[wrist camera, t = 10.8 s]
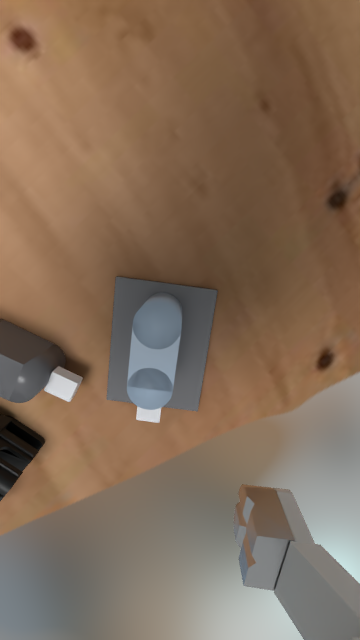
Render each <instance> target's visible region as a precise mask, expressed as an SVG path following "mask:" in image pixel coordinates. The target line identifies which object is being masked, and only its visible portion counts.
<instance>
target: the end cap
mask: <svg viewBox="0 0 360 640" xmlns="http://www.w3.org/2000/svg"><path fill="white" fill-rule="evenodd" d="M44 442H45V441H44V438H43V437H41V436H40V435H38V434H37V433H36V432H34V431H33V430H31V429H30V428H28V427H27V426H25V425H24V424H22V423H21V422H19V421H18V420H16V419H14V418H12V417H9V416H4V415H2V414H0V501H1V500H2V498H3V497H4V496H5V495H6V494H7V492H8V491H9V490H10V489H11V487H12V486H13V485H14V483H15V482H16V481H17V479H18V478H19V477H20V475H21V474H22V473H23V472H22V471H23V470H24V469H25V467H26V466H27V465H28V464H29V463H30V462H31V461H32V459H33V458H34V457H35V455H36V454H37V453H38V451H39V450H40V448H41V447H42V446H43V444H44Z"/></svg>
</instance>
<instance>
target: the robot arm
mask: <svg viewBox="0 0 360 640" xmlns="http://www.w3.org/2000/svg"><path fill="white" fill-rule="evenodd" d="M239 499H240V502H239V503H238V504H237V505H236V506H235V512H234V534H235V540H236V542H237V544H238V545H239V547H240V548H241V551H240V555H239V563H240V569H241V574H242V580H243V585H244V586H247V587H254V588H260V589H267V590H274V593H275V595H276V596H277V598H278V600H279V601H280V603H281V604H282V606H283V607H284V609H285V611H286V612H287V614H288V615H289V617H290V618H291V620H292V621H293V623H294V625H295V626H296V628H297V629H298V631H299V632H300V634H301V636H302V637H303V639H304V640H360V584H359V583H358V582H357V581H356V580H355V579H354V578H353V577H352V576H351V575H350V574H349V573H348V572H347V571H346V570H345V569H344V568H343V567H342V566H341V565H340V564H339V563H338V562H337V561H336V560H335V559H334V558H333V557H332V556H331V555H330V554H329V553H328V552H327V551H326V550H325V549H324V548H323V547H322V546H321V545H318V544H315V543H314V540H313V538H312V536H311V534H310V532H309V529H308V527H307V525H306V523H305V520H304V518H303V516H302V514H301V512H300V509H299V507H298V505H297V503H296V500H295V498H294V496H293V494H292V492H291V491H290V490H288V489H279V488H270V487H261V486H253V485H244V484H242V485H241V487H240V490H239Z"/></svg>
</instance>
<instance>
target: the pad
mask: <svg viewBox="0 0 360 640" xmlns="http://www.w3.org/2000/svg"><path fill="white" fill-rule="evenodd" d="M217 292H218V291H217V290H214V289H207V288H199V287H192V286H185V285H177V284H170V283H162V282H155V281H148V280H140V279H133V278H125V277H118V276H117V277H116V281H115V294H114V308H113V321H112V334H111V348H110V361H109V375H108V388H107V400H114V401H122V402H129V403H133V402H132V401H131V400H130V398H129V396H128V393H127V380H128V369H129V359H130V348H131V337H132V327H133V319H134V316H135V314H136V313H137V311H138V310H139V309H140V308H141V307H142V305H143V304H144V303H145V302H146V301H147V300H148V299H149V298H150V297H151V296H152V295H154V294H157V293H168V294H171V295H173V296H174V297H176V298H177V299H178V301H179V302H180V304H181V307H182V328H181V336H180V343H179V350H178V357H177V364H176V372H175V379H174V386H173V393H172V396H171V399H170V400H169V402H168V403H167V404H166V405H164V406H163V407H168V408H176V409H183V410H191V411H198V406H199V400H200V394H201V388H202V382H203V376H204V370H205V364H206V358H207V352H208V346H209V340H210V334H211V328H212V322H213V316H214V310H215V304H216V298H217Z"/></svg>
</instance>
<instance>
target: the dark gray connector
mask: <svg viewBox="0 0 360 640" xmlns="http://www.w3.org/2000/svg"><path fill="white" fill-rule="evenodd" d="M65 363H66V358H65V355H64V353H63V351H62V350H61V349H60V348H59V347H58V346H57V345H55V344H53V343H51V342H49V341H47V340H45V339H43V338H41V337H39V336H37V335H35V334H32V333H30V332H28V331H26V330H24V329H22V328H20V327H18V326H16V325H14V324H12V323H10V322H7V321H5V320H3V319H0V397H2V398H4V399H7V400H9V401H11V402H16V403H23V402H27V401H29V400H31V399H32V398H33V397H34V396H35V395H36V394H38V393H39V392H40V391H41V390H42V389H43V388H44V387H45V386H46V387H45V389H44V391H46V392H48V393H51V394H53V395H55V396H57V397H59V398H61V399H64V400H66V401H68V402H70V401H71V400H72V398H73V397H74V396H75V394H76V392H77V390H78V388H79V386H80V383H81V381H82V379H83V377H81V376H79V375H76V374H74V373H72V372H70V371H68V370H66V369H64V367H65Z"/></svg>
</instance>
